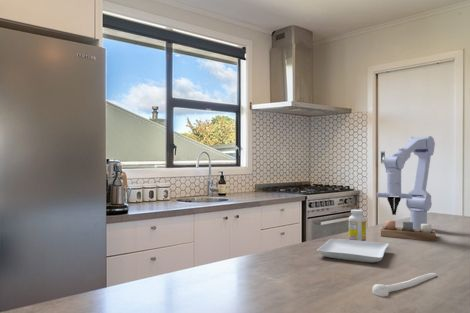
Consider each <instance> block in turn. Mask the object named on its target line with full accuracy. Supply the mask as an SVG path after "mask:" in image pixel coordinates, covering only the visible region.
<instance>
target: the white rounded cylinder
mask: <svg viewBox="0 0 470 313" xmlns="http://www.w3.org/2000/svg"><path fill="white" fill-rule="evenodd" d="M431 230H432V224H431V223H430V224H429V223H427V224H421V232H422V233H431Z"/></svg>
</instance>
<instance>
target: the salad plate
mask: <svg viewBox="0 0 470 313" xmlns="http://www.w3.org/2000/svg"><path fill="white" fill-rule="evenodd" d="M389 246H390V243H387V242H378V241H368V240H366V241H357V240H349V239H343V238H330V239H328V240H327V241H326V242H325V243H324V244H322V245H321V246H320V247H318V248H317V249H316V250H317V252H318V254H319V255H320V256H323V257H326V258H329V259H336V260H344V261H352V262H362V263H371V264H372V263H377V262H380V261H382V260H383V258H384V255H385V252H386V250H387V249H388V248H389Z"/></svg>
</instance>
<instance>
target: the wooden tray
mask: <svg viewBox="0 0 470 313" xmlns="http://www.w3.org/2000/svg"><path fill="white" fill-rule="evenodd" d="M380 237H387V238H398V239H399V238H400V239H409V240H417V241H418V240H420V241H430V242H431V241H432V242H436V240H437V234H436V230H435V229H431V233H422V232H421V229H413V231H404V230H403V227H399V226H395V230H388V229H386V225H385V226H384V225H383V226H382V228H381V229H380Z"/></svg>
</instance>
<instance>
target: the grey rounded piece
mask: <svg viewBox="0 0 470 313" xmlns="http://www.w3.org/2000/svg"><path fill="white" fill-rule="evenodd" d="M402 228H403V230H404V231H413V222H410V221H404V220H403V221H402Z"/></svg>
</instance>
